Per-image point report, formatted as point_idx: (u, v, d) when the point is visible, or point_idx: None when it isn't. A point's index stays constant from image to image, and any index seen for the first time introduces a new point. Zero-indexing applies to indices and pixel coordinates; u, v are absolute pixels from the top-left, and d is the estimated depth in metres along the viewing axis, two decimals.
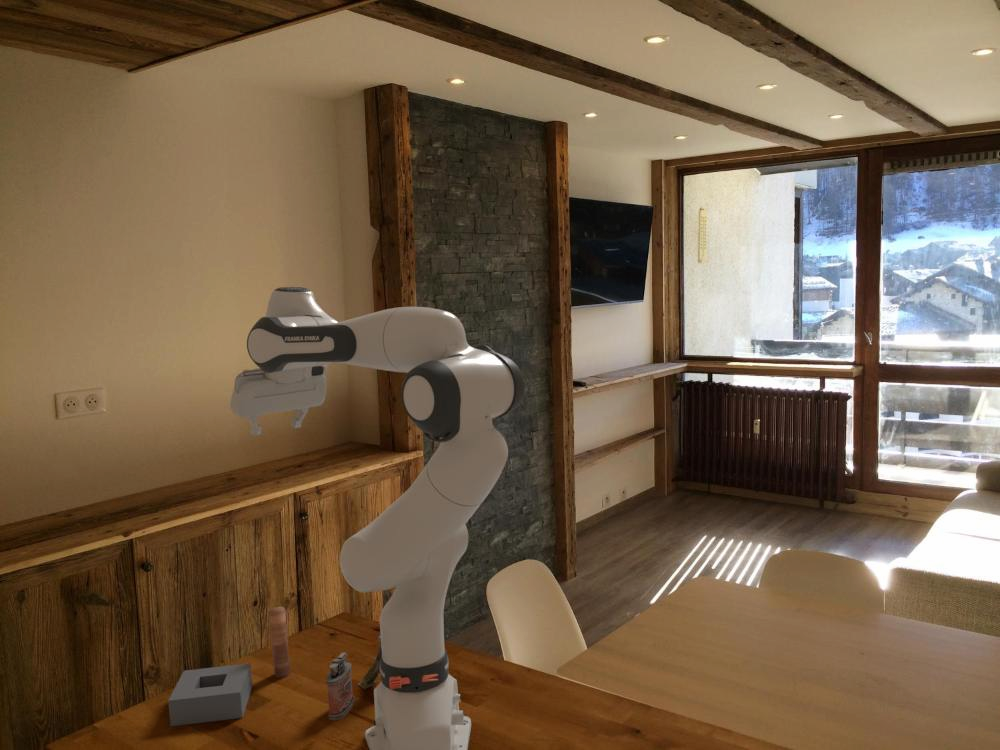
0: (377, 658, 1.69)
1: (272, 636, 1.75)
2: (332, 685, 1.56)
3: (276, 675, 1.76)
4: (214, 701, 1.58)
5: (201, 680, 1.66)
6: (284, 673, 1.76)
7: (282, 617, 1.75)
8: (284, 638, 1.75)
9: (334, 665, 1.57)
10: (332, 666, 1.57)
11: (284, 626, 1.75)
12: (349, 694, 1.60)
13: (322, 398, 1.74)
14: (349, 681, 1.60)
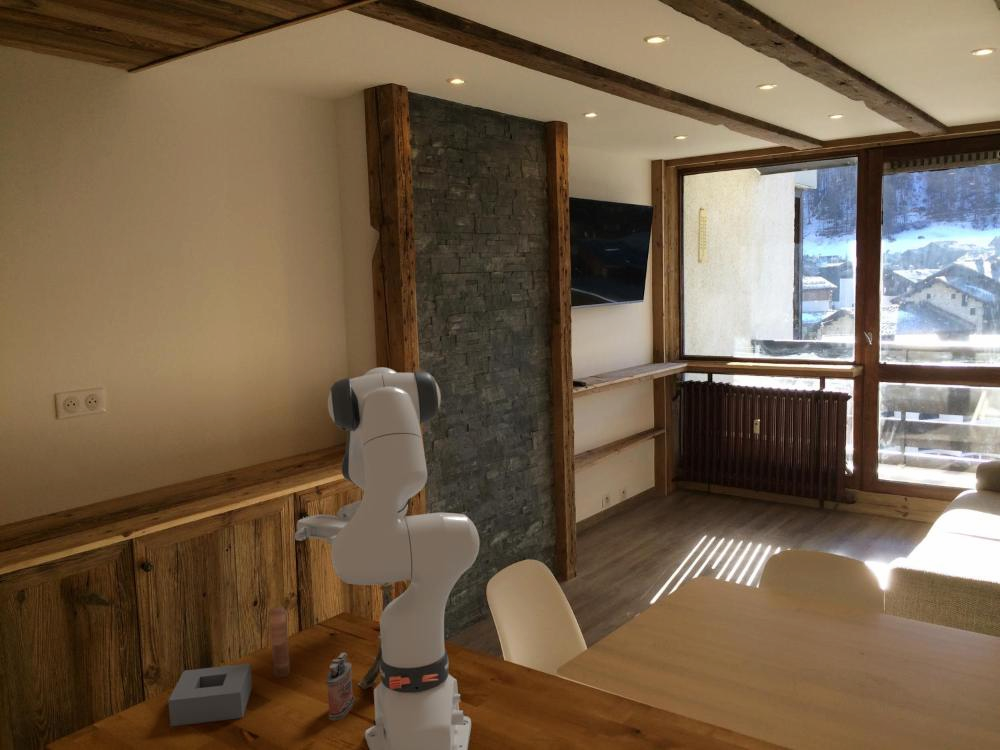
0: (377, 658, 1.69)
1: (272, 636, 1.75)
2: (332, 685, 1.56)
3: (276, 675, 1.76)
4: (214, 701, 1.58)
5: (201, 680, 1.66)
6: (284, 673, 1.76)
7: (282, 617, 1.75)
8: (284, 638, 1.75)
9: (334, 665, 1.57)
10: (332, 666, 1.57)
11: (284, 626, 1.75)
12: (349, 694, 1.60)
13: None
14: (349, 681, 1.60)
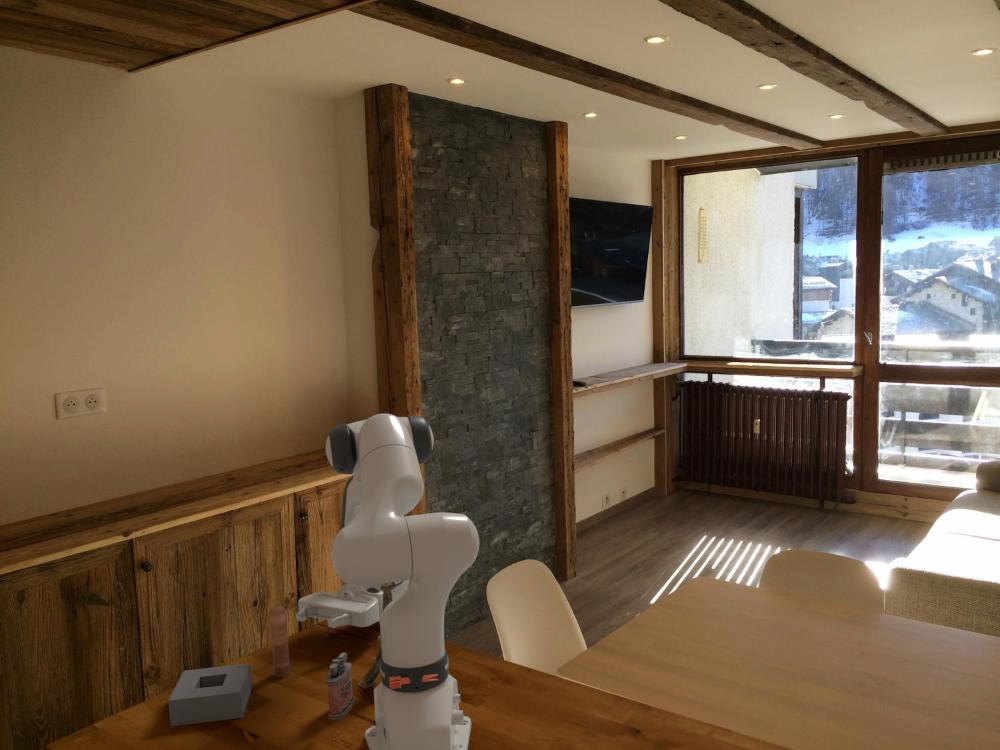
0: (377, 658, 1.69)
1: (272, 636, 1.75)
2: (332, 685, 1.56)
3: (276, 675, 1.76)
4: (214, 701, 1.58)
5: (201, 680, 1.66)
6: (284, 673, 1.76)
7: (282, 617, 1.75)
8: (284, 638, 1.75)
9: (334, 665, 1.57)
10: (332, 666, 1.57)
11: (284, 626, 1.75)
12: (349, 694, 1.60)
13: (364, 608, 1.85)
14: (349, 681, 1.60)
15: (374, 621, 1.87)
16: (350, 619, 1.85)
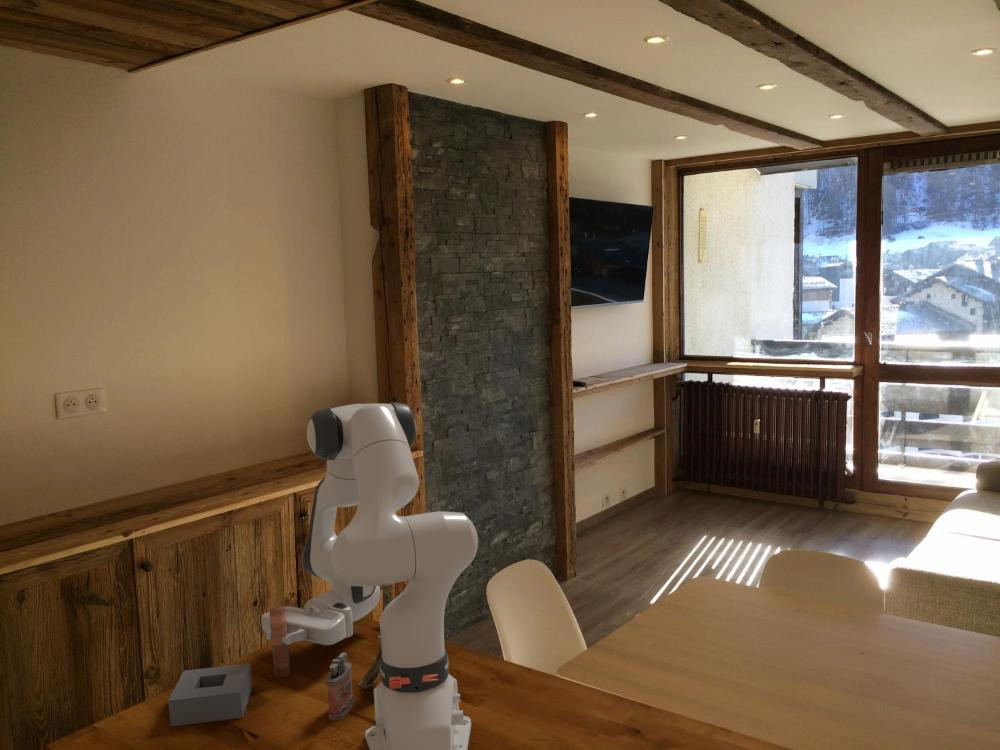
0: (377, 658, 1.69)
1: (272, 636, 1.75)
2: (332, 685, 1.56)
3: (276, 675, 1.76)
4: (214, 701, 1.58)
5: (201, 680, 1.66)
6: (284, 673, 1.76)
7: (282, 617, 1.75)
8: None
9: (334, 665, 1.57)
10: (332, 666, 1.57)
11: (284, 626, 1.75)
12: (349, 694, 1.60)
13: (329, 625, 1.76)
14: (349, 681, 1.60)
15: (340, 638, 1.78)
16: (306, 634, 1.77)
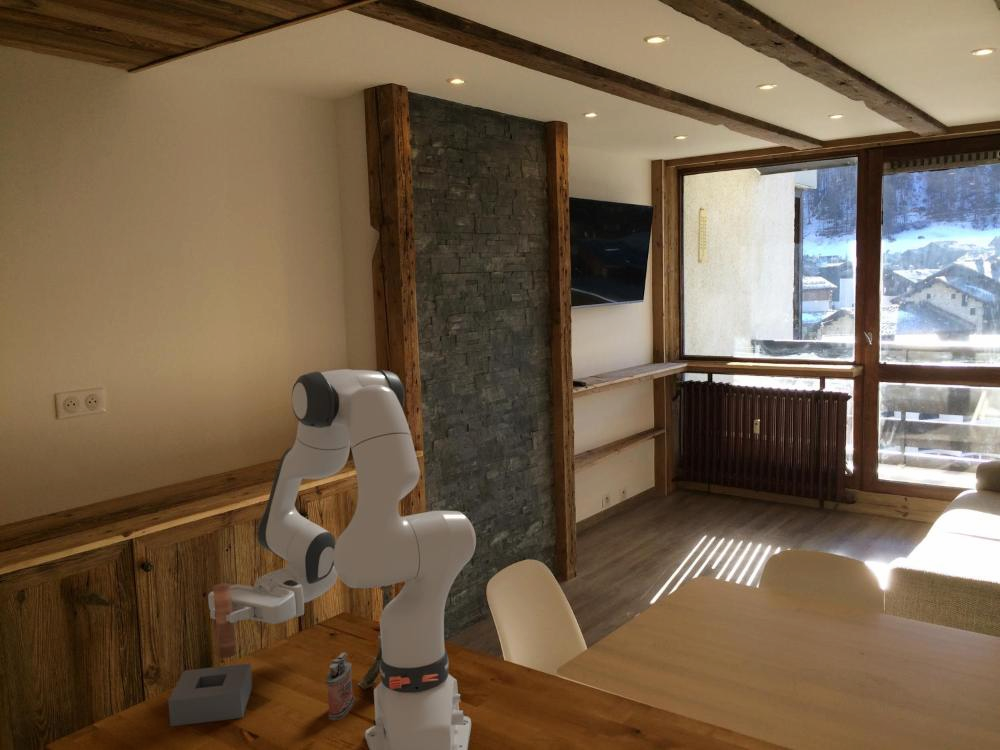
0: (377, 658, 1.69)
1: (216, 614, 1.65)
2: (332, 685, 1.56)
3: (221, 655, 1.66)
4: (214, 701, 1.58)
5: (201, 680, 1.66)
6: (229, 653, 1.65)
7: (226, 594, 1.65)
8: None
9: (334, 665, 1.57)
10: (332, 666, 1.57)
11: (229, 603, 1.65)
12: (349, 694, 1.60)
13: (277, 602, 1.66)
14: (349, 681, 1.60)
15: (289, 617, 1.68)
16: (253, 612, 1.67)
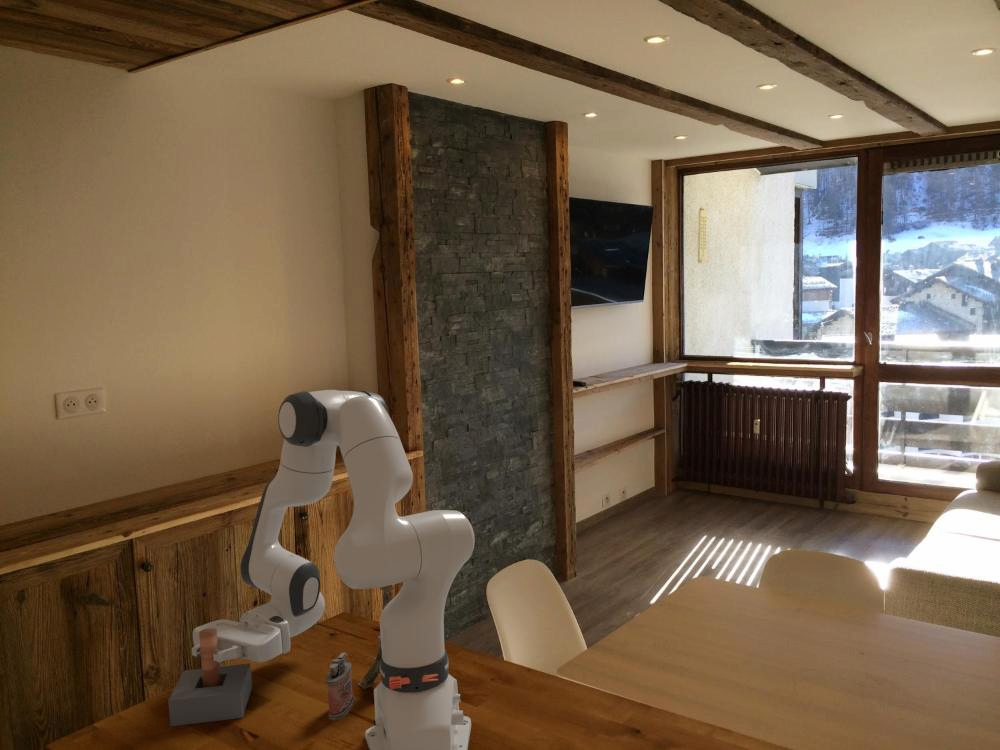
0: (377, 658, 1.69)
1: (202, 660, 1.62)
2: (332, 685, 1.56)
3: None
4: (214, 701, 1.58)
5: (201, 680, 1.66)
6: None
7: (213, 640, 1.62)
8: (215, 663, 1.63)
9: (334, 665, 1.57)
10: (332, 666, 1.57)
11: (215, 649, 1.63)
12: (349, 694, 1.60)
13: (262, 641, 1.63)
14: (349, 681, 1.60)
15: (275, 655, 1.65)
16: (241, 651, 1.64)
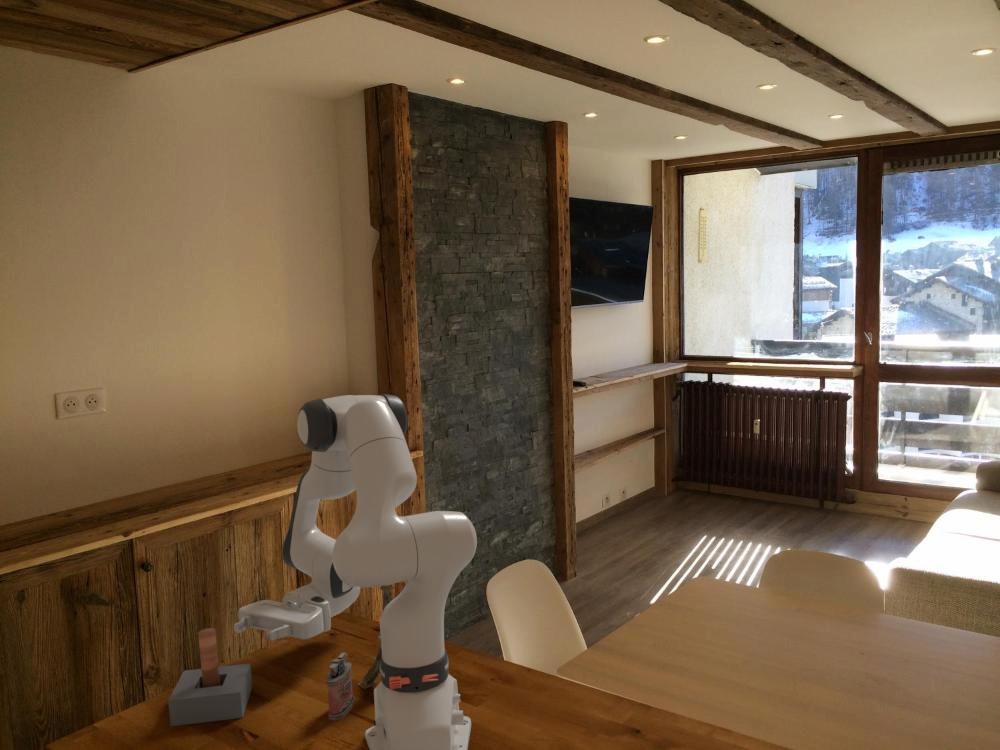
0: (377, 658, 1.69)
1: (201, 660, 1.63)
2: (332, 685, 1.56)
3: None
4: (214, 701, 1.58)
5: (201, 680, 1.66)
6: None
7: (212, 640, 1.62)
8: (214, 663, 1.63)
9: (334, 665, 1.57)
10: (332, 666, 1.57)
11: (214, 649, 1.63)
12: (349, 694, 1.60)
13: (306, 619, 1.73)
14: (349, 681, 1.60)
15: (317, 632, 1.75)
16: (291, 630, 1.73)
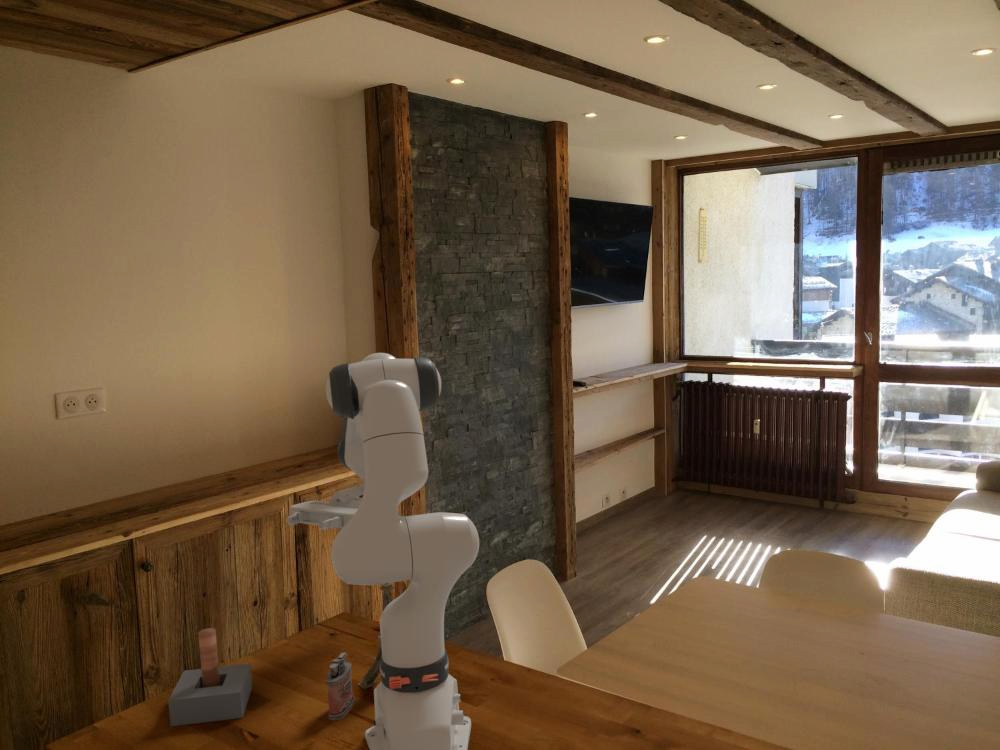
0: (377, 658, 1.69)
1: (201, 660, 1.63)
2: (332, 685, 1.56)
3: None
4: (214, 701, 1.58)
5: (201, 680, 1.66)
6: None
7: (212, 640, 1.62)
8: (214, 663, 1.63)
9: (334, 665, 1.57)
10: (332, 666, 1.57)
11: (214, 649, 1.63)
12: (349, 694, 1.60)
13: (356, 511, 1.82)
14: (349, 681, 1.60)
15: None
16: (342, 522, 1.82)
